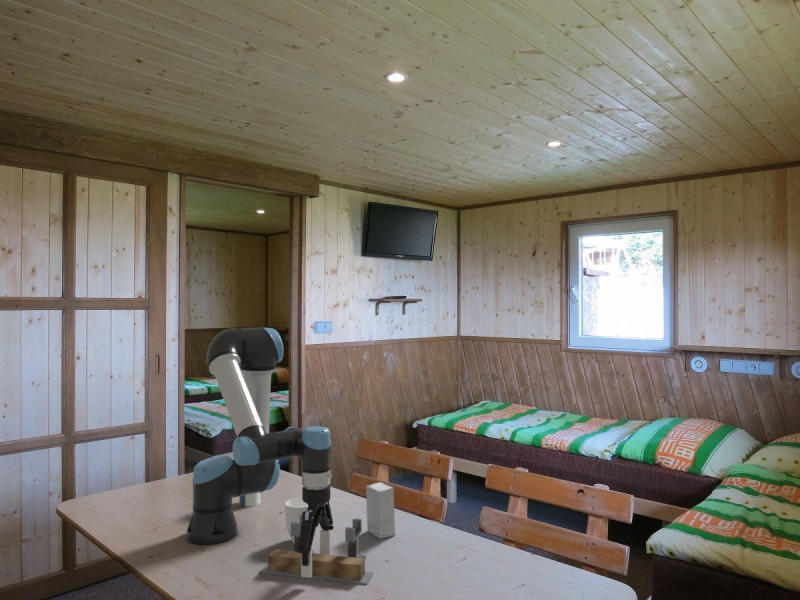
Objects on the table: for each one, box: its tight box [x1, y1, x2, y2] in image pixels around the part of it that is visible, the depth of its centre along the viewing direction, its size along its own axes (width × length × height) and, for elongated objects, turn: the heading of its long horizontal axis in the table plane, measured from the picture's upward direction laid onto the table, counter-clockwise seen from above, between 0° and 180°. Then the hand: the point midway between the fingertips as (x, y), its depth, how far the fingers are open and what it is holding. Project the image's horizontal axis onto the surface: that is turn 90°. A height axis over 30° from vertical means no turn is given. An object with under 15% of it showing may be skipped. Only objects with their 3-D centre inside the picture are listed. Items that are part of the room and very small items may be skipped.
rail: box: [267, 548, 366, 581], centre depth 153 cm, size 26×4×4 cm, turn 77°
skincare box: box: [365, 482, 396, 540], centre depth 180 cm, size 8×6×15 cm
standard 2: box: [344, 518, 367, 560], centre depth 159 cm, size 5×8×11 cm, turn 167°
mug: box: [284, 497, 308, 544], centre depth 175 cm, size 12×9×12 cm
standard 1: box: [291, 514, 314, 553], centre depth 162 cm, size 5×8×11 cm, turn 167°
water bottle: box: [238, 493, 261, 508], centre depth 207 cm, size 8×9×25 cm
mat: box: [259, 562, 374, 586], centre depth 153 cm, size 30×6×1 cm, turn 77°
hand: (316, 565), depth 153 cm, fingers open, 13 cm apart
